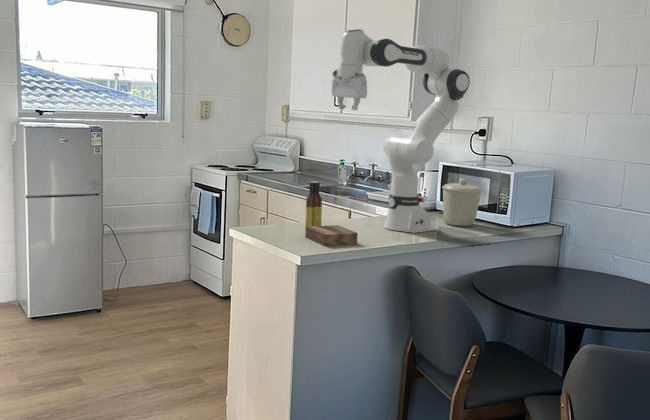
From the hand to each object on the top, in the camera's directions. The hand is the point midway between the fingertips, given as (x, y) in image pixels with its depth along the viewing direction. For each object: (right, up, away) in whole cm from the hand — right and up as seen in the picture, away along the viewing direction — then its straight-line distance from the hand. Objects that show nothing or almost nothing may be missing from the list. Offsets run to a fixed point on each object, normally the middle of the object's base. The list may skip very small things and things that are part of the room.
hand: (347, 109), depth 246 cm
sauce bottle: (-14, -47, +3) cm, 49 cm away
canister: (+51, -45, +43) cm, 81 cm away
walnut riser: (-7, -50, -8) cm, 51 cm away
